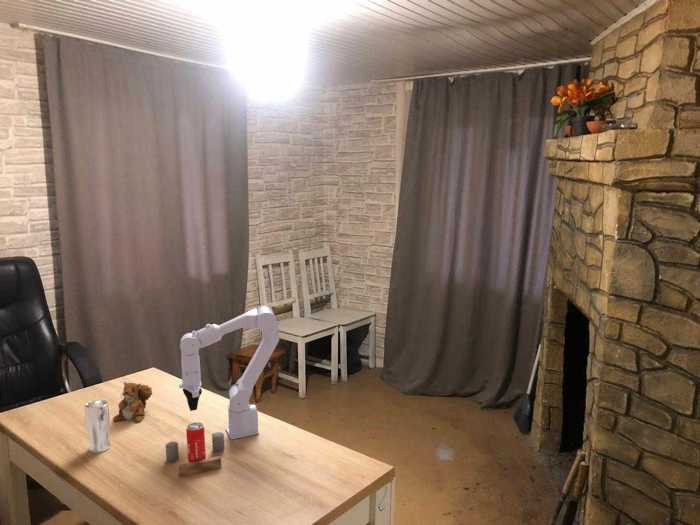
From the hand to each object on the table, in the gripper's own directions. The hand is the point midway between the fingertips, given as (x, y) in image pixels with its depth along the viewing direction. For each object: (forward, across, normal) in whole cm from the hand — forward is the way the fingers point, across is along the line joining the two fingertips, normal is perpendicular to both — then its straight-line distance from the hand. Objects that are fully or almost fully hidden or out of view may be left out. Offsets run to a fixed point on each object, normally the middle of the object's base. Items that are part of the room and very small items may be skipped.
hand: (193, 409), depth 178 cm
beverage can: (+10, +16, -2) cm, 19 cm away
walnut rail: (+10, +21, -2) cm, 23 cm away
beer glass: (+10, -6, -28) cm, 31 cm away
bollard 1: (+10, +11, -8) cm, 17 cm away
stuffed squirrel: (+10, -26, -17) cm, 32 cm away
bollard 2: (+10, +11, +6) cm, 16 cm away
